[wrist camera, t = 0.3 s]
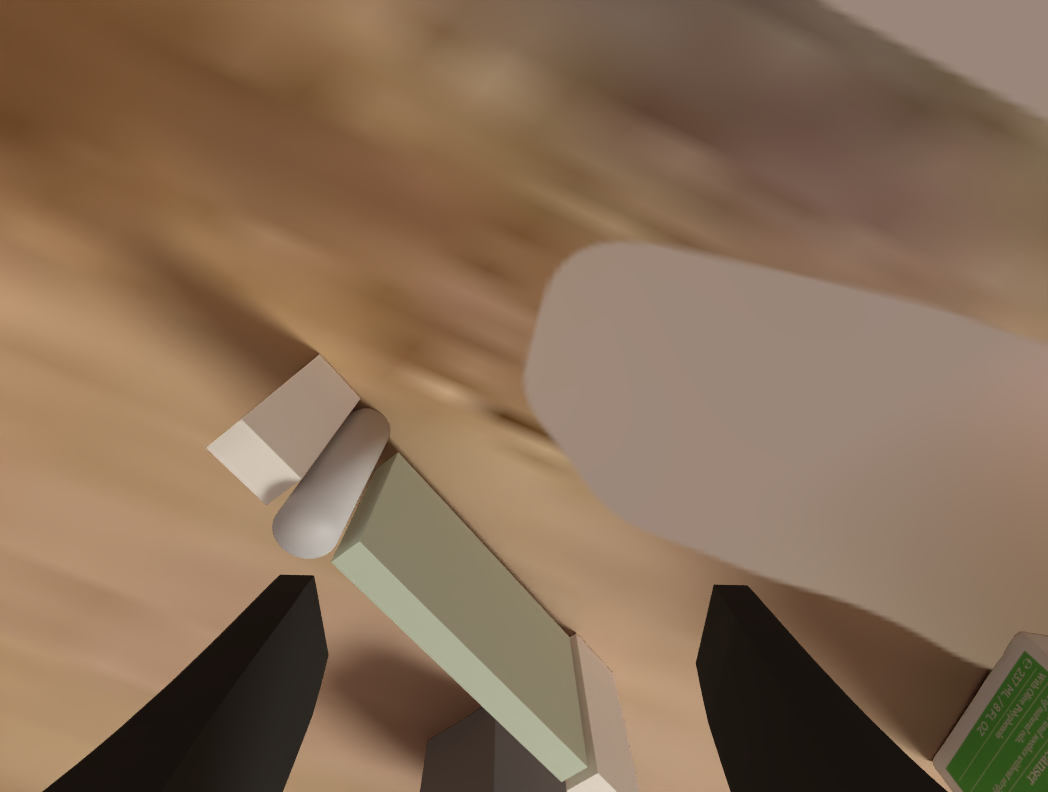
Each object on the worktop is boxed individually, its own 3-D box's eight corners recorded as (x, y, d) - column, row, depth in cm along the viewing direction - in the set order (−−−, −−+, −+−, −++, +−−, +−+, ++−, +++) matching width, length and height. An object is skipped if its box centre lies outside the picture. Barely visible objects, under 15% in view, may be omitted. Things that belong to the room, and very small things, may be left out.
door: (529, 662, 23) (535, 797, 18) (355, 483, 20) (303, 581, 15) (569, 637, 23) (587, 767, 18) (398, 452, 20) (359, 541, 15)
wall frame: (586, 690, 24) (612, 856, 18) (289, 378, 19) (189, 461, 13) (617, 671, 24) (654, 834, 18) (324, 350, 19) (237, 421, 13)
